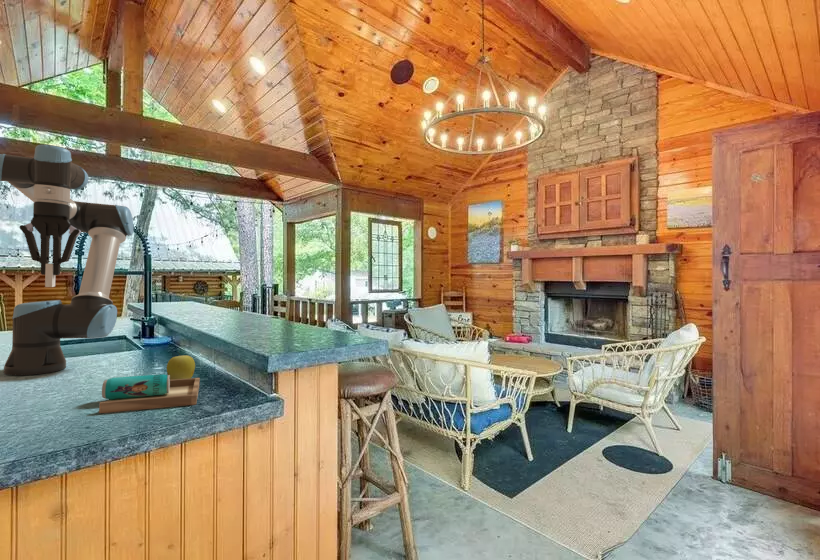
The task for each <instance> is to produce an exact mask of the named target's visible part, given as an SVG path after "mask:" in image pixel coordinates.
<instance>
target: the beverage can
mask: <svg viewBox="0 0 820 560" xmlns="http://www.w3.org/2000/svg"><path fill="white" fill-rule="evenodd" d="M169 389H170V375H168V374H164V373H162V374H148V375H147V374H146V375H134V376H133V375H131V376H119V377H118V376H117V377H110V378H108V379H105V380H104V381H103V382H102V387H101V397H102V398H103V399H104V400H105V399H106V400H109V399H110V400H112V399H124V398H135V397H146V396H158V395H164V394H166V393H169Z"/></svg>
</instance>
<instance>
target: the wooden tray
mask: <svg viewBox="0 0 820 560" xmlns="http://www.w3.org/2000/svg"><path fill="white" fill-rule="evenodd" d="M200 379H201V378H200V377H192V378H189V379H173V380H170V389H169V393H166V394H164V395H158V396H146V397H135V398H124V399H112V400H110V399H107V401H100V402H99V409H98V413H99V414H106V413H107V414H108V413H119V412H128V411H129V412H130V410H131V411H139V410H151V409H160V408H162V409H163V408H172V407H182V406H183V407H184V406H193V405H197V402H198V396H199V390H200V381H201V380H200Z"/></svg>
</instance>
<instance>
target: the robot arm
mask: <svg viewBox="0 0 820 560" xmlns="http://www.w3.org/2000/svg"><path fill="white" fill-rule="evenodd" d="M72 161H73V159H72V152H71V151H70V150H68V148H64V147H62V146H61V147H60V146H57V145H51V144H38V145H36V146H35V148H34V155H33V157H26V156H22V155H21V156H19V155H11V154H6V153H0V182H7V183H8V184H10V185H11V186H12V187H14V188H15V189H16V190H18V191H19V192H20V193H22V195H24V196H26V198H28V199H29V200H30V201H32V202H33V207H32V209H33V213H32V218H31V220H30V222H29V223H26V224H24V225H23V224H21V225H20V226H19V227H18V228H19V229H20V230H21V232H22V233H23V235H24V237H25V241H26V245H27V247H28V251H29V254H30V258H31V260H32V261H35V262H37V263H40V274H41V275H42V276H43V275H44V276H45V279H44V280H45V281H44V287H45V288H54V287H56V276H59V275H60V274H61V264H62V263H67V262H69V261H70V259H71V257H72V253H73V249H74V246H75V243H76V241H77V238H78V237H79V236H80V235H81V234H82V233H86V234H88V236H89V237H90V238H91V242H90V246H89V251H88V253H87V258H86V262H85V267H84V269H83V270H84V271H83V275H82V278H81V283H80V287H79V292H78V294H77V295H74V296H72V298H71V300H70V304H63V302H62V300H61V299H51V300H41V301H40V300H39V301H29V302H24V303H19V304H17V305H15V306H14V308H13V315H12V338H11V339H12V344H11V345H12V347H11V351H10V353H9V355H8V357H7V359H6V361H5V364H4V365H3V374H4V375H6V376H33V375H35V376H36V375H43V374H48V373H50V374H51V373H55V372H58V371H59V372H60V371H61V370H64V369H66V367H67V360H66V358H65V355H64V351H63V350H62V347H61V339H62V340H63V339H99V338H100V339H102V338H106V337H108V336H109V335H110V334H111V333H112V331H113V330H114V329H115V326H116V323H117V320H118V319H117V318H118V316H117V315H118V308H117V306H116V305H114V302H113V300H112V299H111V298H110V295H111V294H110V293H111V289H112V284H113V279H114V274H115V270H116V264H117V260H118V255H119V251H120V246H121V244H122V243H125V241H126V239H127V236H128V237H131V236H133V234H134V219H133V215H132V212H131V210H130V208H129V207H127V206H126V205H118V204H106V203H97V202H87V201H86V202H85V201H77V200H73V199H71V190H75V191H76V190H82V189H83V188H85V187H86V186H87V185H88V183H89V180H90V179H89V174H88V173H87V172H86V170H85V169H83V167H81V165H80V166H79V165H78V164H77V163H73V162H72ZM34 229H35V230H36V231H37V232H38V233H39V237H40V251H39V248H38V245H37V244H38V243H37V241H36V238H35V234H34ZM67 232H68V234H69V235H68V238H67V240H66V243H65V247H64V249H63V252H62V239H63V236H64V235H65V234H66V233H67ZM51 236H52V261H50V244H51V243H50V240H51Z"/></svg>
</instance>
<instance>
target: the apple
mask: <svg viewBox="0 0 820 560" xmlns="http://www.w3.org/2000/svg"><path fill="white" fill-rule="evenodd" d="M177 353H178V354H179V355H178V356H177V355H176V356H173V357H172V358H171V357H170V359H169V360H168V362H167V364H166V375H170V380H173V379H189V378H193V376H194V373H195V369H196V362H195V360H194V358H193V357H192V356H190V355H187V354H186V355H181V354H180V352H179V351H177Z"/></svg>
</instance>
